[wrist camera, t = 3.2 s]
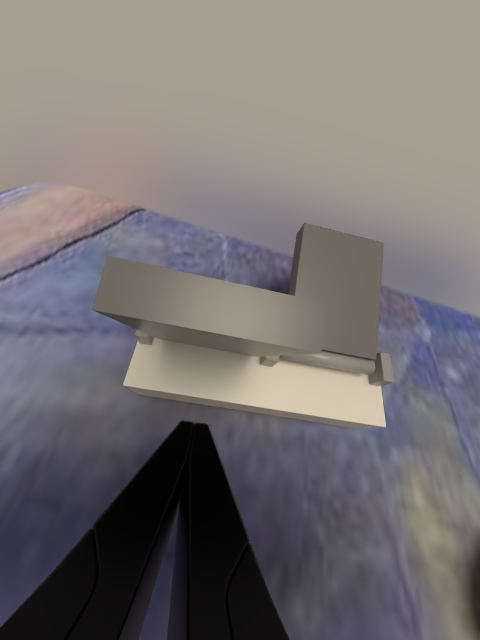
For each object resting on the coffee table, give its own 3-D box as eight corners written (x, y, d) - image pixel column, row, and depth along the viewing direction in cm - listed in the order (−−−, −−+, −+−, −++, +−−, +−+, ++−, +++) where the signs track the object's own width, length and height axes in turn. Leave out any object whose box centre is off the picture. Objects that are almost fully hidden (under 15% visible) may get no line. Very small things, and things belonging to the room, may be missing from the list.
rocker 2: (376, 375, 13) (385, 243, 14) (284, 358, 12) (302, 222, 14) (360, 374, 14) (369, 253, 16) (276, 358, 14) (294, 235, 15)
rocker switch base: (348, 427, 16) (403, 427, 12) (137, 394, 15) (115, 380, 10) (343, 344, 19) (387, 320, 14) (163, 309, 17) (154, 271, 13)
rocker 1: (255, 357, 13) (325, 354, 5) (159, 339, 13) (86, 308, 5) (259, 332, 13) (331, 295, 6) (165, 314, 13) (105, 246, 5)
